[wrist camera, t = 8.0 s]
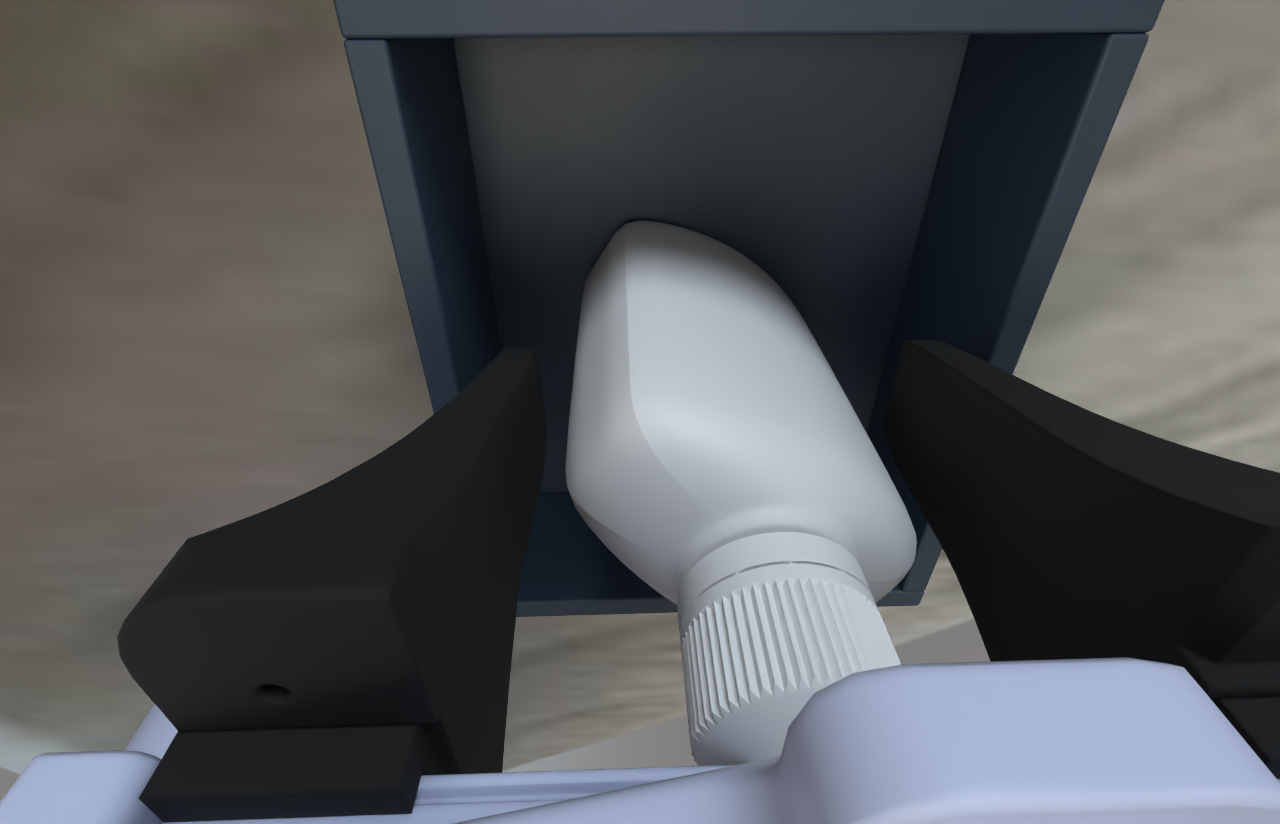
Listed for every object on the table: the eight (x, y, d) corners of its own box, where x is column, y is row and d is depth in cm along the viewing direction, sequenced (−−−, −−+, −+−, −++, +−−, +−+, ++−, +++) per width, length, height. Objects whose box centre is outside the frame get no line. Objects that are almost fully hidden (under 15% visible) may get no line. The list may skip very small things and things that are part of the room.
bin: (862, 488, 19) (920, 606, 16) (509, 496, 19) (483, 618, 16) (1001, -20, 12) (1175, -21, 8) (419, -16, 12) (327, -15, 8)
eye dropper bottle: (669, 422, 17) (739, 1016, 7) (561, 251, 14) (433, 859, 4) (818, 356, 16) (1138, 950, 6) (734, 156, 13) (1087, 681, 3)
